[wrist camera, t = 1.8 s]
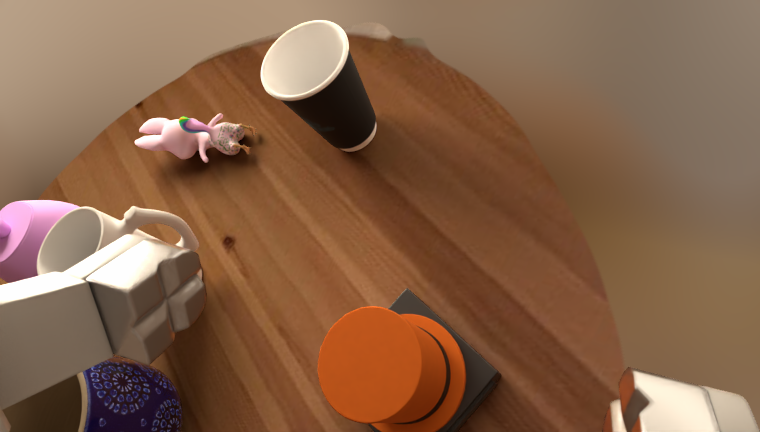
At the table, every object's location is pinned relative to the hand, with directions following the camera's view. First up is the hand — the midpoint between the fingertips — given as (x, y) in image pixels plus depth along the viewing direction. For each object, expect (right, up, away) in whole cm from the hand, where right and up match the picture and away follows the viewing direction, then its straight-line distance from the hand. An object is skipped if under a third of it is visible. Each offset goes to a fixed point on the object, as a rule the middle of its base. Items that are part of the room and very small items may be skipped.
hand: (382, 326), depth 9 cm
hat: (+2, -9, +25) cm, 26 cm away
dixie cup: (-3, +11, +38) cm, 40 cm away
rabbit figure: (-21, +10, +45) cm, 51 cm away
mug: (-19, -4, +38) cm, 43 cm away
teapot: (-35, -3, +45) cm, 57 cm away
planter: (-21, -17, +33) cm, 43 cm away
